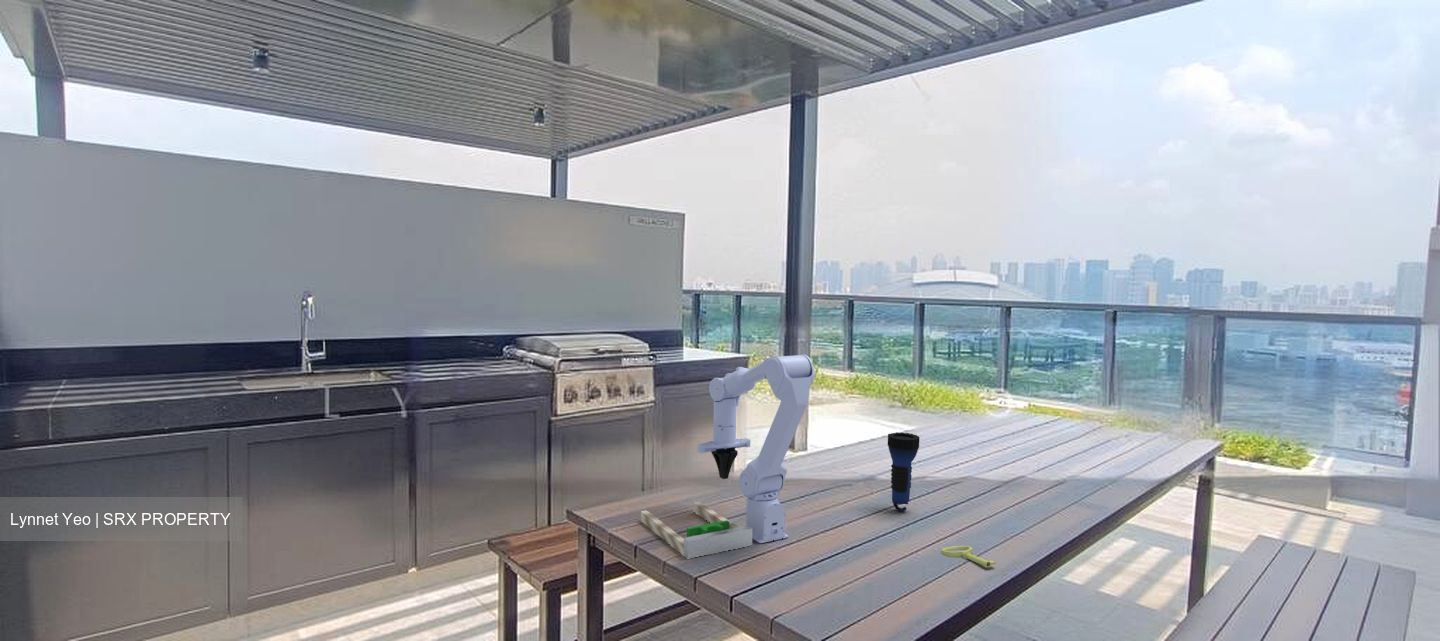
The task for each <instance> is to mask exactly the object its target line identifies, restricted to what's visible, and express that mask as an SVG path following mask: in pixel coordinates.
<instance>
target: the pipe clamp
mask: <svg viewBox="0 0 1440 641" xmlns="http://www.w3.org/2000/svg"><path fill="white" fill-rule="evenodd" d="M728 520H729V519H727V520H725V521H720V522H715V523H709V522H708V523H705V524H699V525H694V526H689V527H686V537H691V536H696V535H701V534H706V533H712V532H717V531H722V530H727V529H729V521H730V520H729V521H728Z"/></svg>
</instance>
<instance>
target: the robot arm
mask: <svg viewBox="0 0 1440 641" xmlns="http://www.w3.org/2000/svg"><path fill="white" fill-rule="evenodd" d="M815 377H816V372H815V368H814V364H813V362H812V360H811V358H810V357H809V356H808V355H807V354H803V353H802V354H798V355H784V356H782V355H781V356H779V355H771V356H770V357H767V358H764V359H763V361H761V362H760V363H758V364H757V365H755V366H753V367H751V368H747V367H743V366H737V367H736V368H735V371H733V372H729V373H725V375H724V377H714V378H713V379H712V380H711V381H710V383H709V389H708V390H709V395H710V397H711V399H712V400H713V425H712V426H713V434H712V438H713V440H711V441H707V442H702V443H698V444H697V453H699V454H705V453H711V455H712V457H713V459H714V461H715V463H716V464H715V465H716V466H717V470H718V475H719V478H721V479H722V480H727V479H728V480H729V475H730V473H731V468H732V466H733V464H734V462H735V459H736V458H737V456H738V454H739V453H738V450H736V449H741V448H751V439H749V438H737V437H736V436H737V407H738V406H739V400H740V398H741V396H742V395H743V394H746V393H748V392H750V391H752V390H753V389H754V388H755V386H756V383H758V382H761V381H763V380H765V379H766V380H767V382H768V384H769V386H770V388H771V391H772V393H773V395H774V397H775V398H776V399H777V400H780V403H779V404H778V408H777V409H776V410H777V411H776V413H775V416H774V418H773V421H772V423H771V425H770V427H769V430H768V433H767V435H766V437H765V438H764V442H763V445H762V447H761V450H760V452H759V455H758V456H756V457H755V458H754V459H752V460H751V461H749V463H747V465H746V467H745V468H744V470H742V471H741V472H740V474H739V478H738V485H739V489H740V491H741V493H742V495H743V496H744V497H745V498H746V504H745V505H746V506H745V507H746V508H745V509H746V511H745V512H746V513H745V514H746V515H745V516H746V517H745V526H749V527H751V528H752V540H754V541H755V542H757V543H758V544H762V543H763V544H764V543H767V542H773V540H774V541H779V540H782V538H783V539H787V537H788V538H789V534H786V510H785V507H784V506H783V504H781V503H780V501H779V500H778V499H779V498H778V496H780V495H781V493H780V492H781V491H782V490H783V489H784V487H785V484H786V476H787V472H788V470H787V467H786V465H785V464H784V462H783V461H784V459H785V457H786V455H787V452H788V449H790V448H789V447H790V445H791V443H792V441H793V439H794V436H795V434H796V432H797V429H798V426H799V424H800V423H801V420H802V419H803V416H804V414H805V411H806V409H807V406H808V401H809V394H810V388H811V386H812V384H813V381H814V379H815Z"/></svg>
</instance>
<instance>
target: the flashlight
mask: <svg viewBox="0 0 1440 641" xmlns="http://www.w3.org/2000/svg"><path fill="white" fill-rule="evenodd" d="M887 446H888V450H889V453H890V457H891V460H892V464H891V469H890V470H891V473H890V476H891V477H890V479H891V480H890V483H891V486H890V488H891V502H892V504H893V507H894V508H895V510H897V511H898V512H905V511H907V507H906V506H904V507H899V506H898V505H909V502H910V494H911V487H912V482H911V481H912V472H913V466H912V462H913V461H914V459H915V458H916V456H917V454H918V451H919V449H920V436H919V435H917V434H914V433H909V432H892V433H891V432H890V433H888V434H887Z"/></svg>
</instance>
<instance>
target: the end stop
mask: <svg viewBox="0 0 1440 641" xmlns="http://www.w3.org/2000/svg"><path fill="white" fill-rule="evenodd" d="M683 538H684V556H685V557H686V558H688V559H689V558H693V557H696V556H701V555H707V554H712V553H717V554H719V553H718V552H722V551H726V552H729V551H728V550H731V551H734V550H733V549H736V550H739V549H738V548H741V549H743V548H742V547H745V548H747V547H746V546H750V545H752V546H753V539H752V528H751V527H749V526H746V525H742V526H739V527H737V528H732V529H727V530H722V531H717V532H712V533H706V534H701V535H696V536H694V535H693V536H691V537H687V536H686V537H683ZM750 547H751V546H750ZM722 553H723V552H722ZM712 555H713V554H712ZM684 556H683V557H684ZM685 557H684V558H685ZM686 558H685V559H686ZM688 559H687V560H688ZM689 560H690V559H689Z"/></svg>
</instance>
